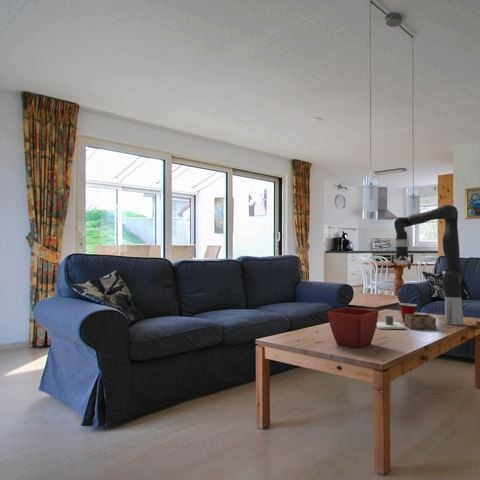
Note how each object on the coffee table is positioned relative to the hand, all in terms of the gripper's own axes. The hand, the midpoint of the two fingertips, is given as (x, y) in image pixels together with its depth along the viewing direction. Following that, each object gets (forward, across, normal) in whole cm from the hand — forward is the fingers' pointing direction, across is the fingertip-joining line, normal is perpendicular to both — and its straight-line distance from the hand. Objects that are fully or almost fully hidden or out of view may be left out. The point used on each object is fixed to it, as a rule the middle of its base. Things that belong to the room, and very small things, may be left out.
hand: (402, 269), depth 287 cm
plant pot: (+33, +45, +82) cm, 99 cm away
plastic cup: (+33, +1, +17) cm, 37 cm away
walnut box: (+33, -1, +35) cm, 48 cm away
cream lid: (+33, +17, +35) cm, 51 cm away
